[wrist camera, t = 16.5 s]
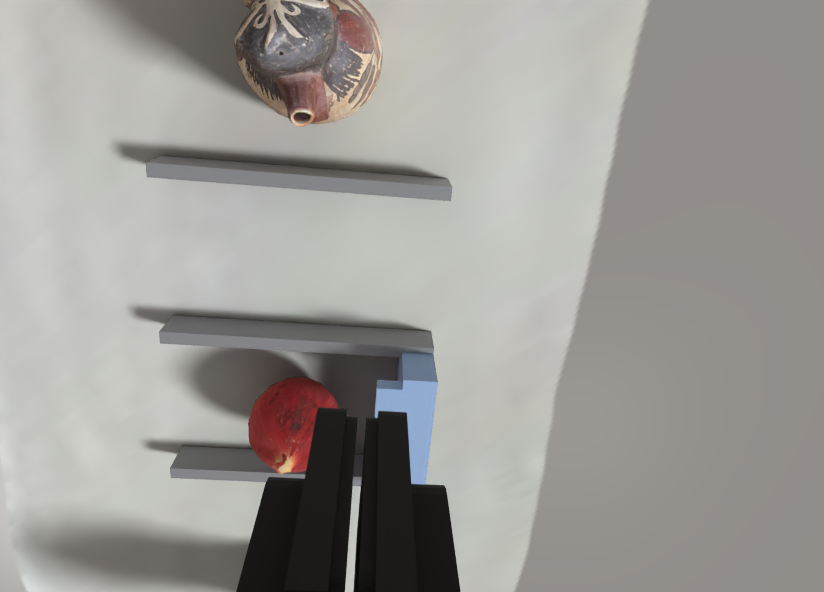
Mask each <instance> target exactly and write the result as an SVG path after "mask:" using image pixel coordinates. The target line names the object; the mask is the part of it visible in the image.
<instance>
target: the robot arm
mask: <svg viewBox="0 0 824 592" xmlns="http://www.w3.org/2000/svg"><path fill="white" fill-rule="evenodd" d="M346 414H347V409H340V408H323V407H318V409H317V414H316V420H315V425H314V431H313V436H312V441H311V447H310V452H309V458H308V463H307V469H306V474H305V479H302V478H282V477H269V478H268V479H267V481H266V485H265V488H264V492H263V495H262V499H261V503H260V506H259V510H258V514H257V517H256V521H255V525H254V528H253V532H252V536H251V540H250V543H249V547H248V551H247V554H246V558H245V562H244V565H243V569H242V573H241V577H240V580H239V584H238V588H237V591H236V592H345V581H346V567H347V553H348V540H349V526H350V512H351V498H352V485H353V471H354V457H355V444H356V430H357V417H346ZM354 592H460V585H459V578H458V571H457V564H456V556H455V549H454V542H453V535H452V528H451V520H450V513H449V506H448V499H447V492H446V488H445V486H444V485H425V484H411V470H410V453H409V437H408V421H407V413H406V412H392V411H378V417H377V418H367V419H366V431H365V443H364V455H363V467H362V479H361V492H360V504H359V516H358V528H357V543H356V560H355V578H354Z"/></svg>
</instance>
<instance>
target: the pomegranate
mask: <svg viewBox="0 0 824 592" xmlns="http://www.w3.org/2000/svg"><path fill="white" fill-rule="evenodd" d="M318 407H323V408H339V407H338V404H337V402H336V399H335V397H334V396H333V395H332V394H331V393H330V392H329V391H328V390H327V389H326V388H325V387H324V386H323V385H322V384H321V383H319V382H317V381H314V380H312V379H309V378H307V377H303V378H287V379H284V380H282V381H280V382H277V383H275V384H273V385H271V386H270V387H269V388H268V389H267V390H266V391H265V392H264V393H263V394H262V395H261V396H260V397H259V398H258V399H257V400H256V401H255V404H254V407H253V409H252V412H251V414H250V418H249V423H248V425H249V441H250V445H251V447H252V448H253V450H254V451H255V453H256V454H257V456H258V457H259V459H260V460H261V461H263V462H264V463H265V464H267V465H268V466H270V467H271V468H273V469H274V471H276V472H277V473H279V474H283V473H287V472H302V471H305V470H306V469H307V463H308V458H309V452H310V447H311V441H312V436H313V431H314V425H315V420H316V414H317V409H318Z"/></svg>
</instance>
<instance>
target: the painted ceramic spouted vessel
mask: <svg viewBox="0 0 824 592" xmlns="http://www.w3.org/2000/svg"><path fill="white" fill-rule="evenodd" d="M243 5H244V6H246V7H248V8H249V9H250V11H249V13H248V15H247V16H246V17H245V19H244V20H243V22H242V23H241V26H240V28H239V30H238V31H237V33H236V35H235V38H234V46H235V48H236V53H237V59H238V64H239V67H240V69H241V71H242V74H243V76H244V79H245V80H246V81H247V83H248V84H249V85H250V87H251V88H252V89H253V91H254V92H255V93H256V94H257V95H258V96H259V97H260V98H261V99H262V100H263V101H264V102H265V104H267V105H268V106H269V107H271V108H272V109H273V110H275V111H276V112H277V113H278V114H280V115H283V116H285V117H288V118H289V119H290V121H291V122H292V123H293V124H295V125H297V126H305V125H308V124H323V123H330V122H336V121H338V120H341V119H343V118H345V117H347V116H349V115H351V114H353V113H354V112H355V111H357V110H358V109H359V108H360V107H361V106H363V105H364V104H365V103H366V102H367V101H368V99H369V98H370V96H371V94H372V93H373V91H374V90H375V88H376V85H377V82H378V79H379V76H380V72H381V65H382V58H383V56H382V43H381V36H380V33H379V30H378V28H377V25H376V23H375V21H374V19H373V17H372V16H371V14H370V13H369V12H368V11H367V10H366V8H365V7H364V6H363V5H362V4H361V3H360V2H359V1H358V0H243Z"/></svg>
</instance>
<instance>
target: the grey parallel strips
mask: <svg viewBox="0 0 824 592" xmlns="http://www.w3.org/2000/svg"><path fill="white" fill-rule="evenodd" d="M146 172H147V177H152V178H165V179H178V180H190V181H203V182H216V183H228V184H241V185H254V186H266V187H279V188H292V189H304V190H317V191H330V192H342V193H355V194H368V195H380V196H393V197H406V198H418V199H431V200H444V201H451V195H452V186H451V184H450V182H449V180H448V179H443V178H431V177H419V176H406V175H394V174H382V173H370V172H357V171H345V170H333V169H321V168H308V167H296V166H284V165H272V164H259V163H247V162H235V161H223V160H210V159H198V158H186V157H174V156H160V157H157V158H155V159H153V160H150V161H148V162H146ZM159 335H160V343H163V344H180V345H197V346H213V347H230V348H247V349H264V350H280V351H297V352H314V353H331V354H348V355H364V356H381V357H398V358H401V357H402V352H408V353H425V354H433V352H434V346H433V340H432V334H431V331H416V330H400V329H385V328H369V327H353V326H337V325H321V324H305V323H289V322H273V321H257V320H242V319H226V318H210V317H194V316H178V315H173V316H172V317H171V318H170V319H169V321H168V322H167V323H166V324H165V325H164V327H163V328H162V329H161V330H160V331H159ZM363 455H364V454H355V457H354V471H353V485H352V486H361V479H362V467H363ZM170 473H171V478H185V479H207V480H230V481H253V482H266V481H267V479H268V478H269V477H282V478H302V479H305V474H306V470H305V471H302V472H287V473H283V474H279V473H277V472H276V471H274V469H273V468H271V467H270V466H268V465H267V464H265V463H264V462H263V461H261V460H260V459H259V457H258V456H257V454H256V453H255V451H254V450H253V449H238V448H217V447H196V446H182V447H181V449H180V451H179V453H178V454H177V456H176V458H175V460H174V462H173V464H172V466H171V468H170Z"/></svg>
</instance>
